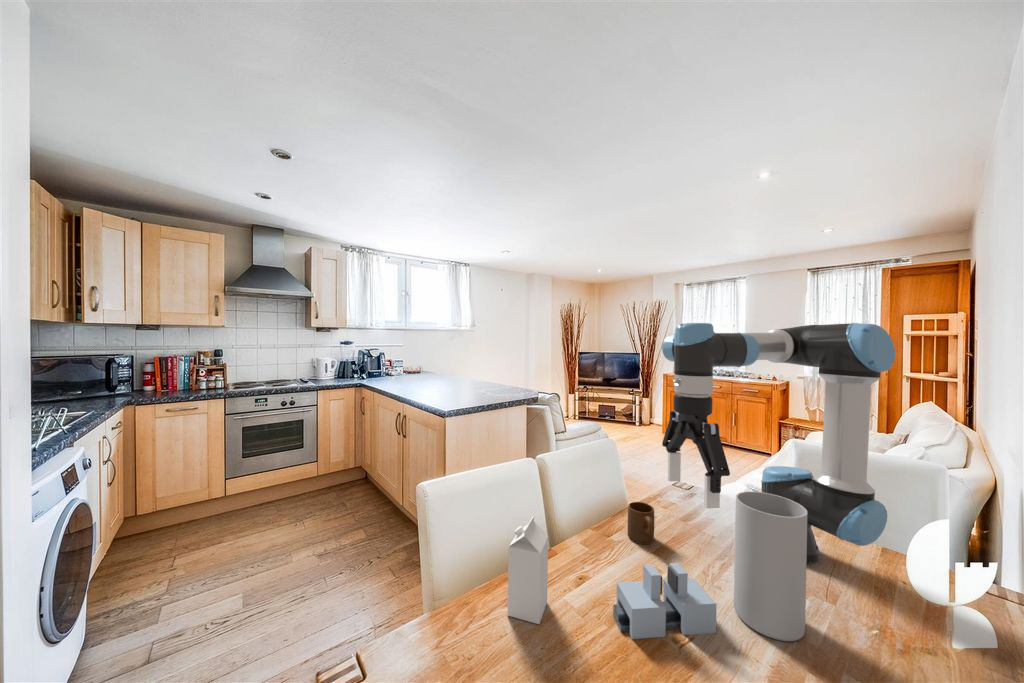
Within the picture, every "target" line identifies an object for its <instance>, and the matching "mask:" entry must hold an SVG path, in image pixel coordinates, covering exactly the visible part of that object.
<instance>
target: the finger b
mask: <svg viewBox="0 0 1024 683" xmlns="http://www.w3.org/2000/svg"><path fill="white" fill-rule="evenodd" d="M688 574H689V573H688V572H687V571H686V570H685V569H684V568H683V567H682V566H681V564H680V563H679V562H669V565H668V566H667V579H666V578H665V579H663V600H662V602H668V601H671V603H672V604H673V605H674V607H675V608H676V609H677V611H678V612H679V613H680V615H681V628H680V632H681V633H682V635H684V636H687V635H689V636H690V635H699V634H700V635H703V634H715V633H716V634H717V604H718V603H717V602H716V601H715V600H714V599H713V598H712V597H711V596H710V595H709V593H708V592H707V591H706V590H705V589H704V588H703V587H702V586H701V585H700V584H699V582H698V581H697V580H696V579H695V578H694V577H689V576H688ZM688 577H689V578H688Z"/></svg>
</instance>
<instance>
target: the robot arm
mask: <svg viewBox="0 0 1024 683" xmlns="http://www.w3.org/2000/svg"><path fill="white" fill-rule="evenodd" d="M714 330H715V329H714V325H713V324H712V323H709V322H686V323H685V322H684V323H683V322H681V323H678V324H677V325H676V327H675V328H674V334H669V335H667V336H666V337H665V338H664V340H663V341H662V343H661V344H662V346H661V347H662V348H661V350H662V355H663V356H664V358H665V359H666V360H668V361H669V362H673V364H674V367H673V373H674V378H673V380H672V381H673V391H674V392H675V394H674V395H673V410H671V411H670V413H669V420H668V423H667V427H666V430H665V434H664V436H663V440H662V444H661V446H662V447H663V448H664V447H665V449H666V452H667V481H668V482H681V475H682V474H681V472H682V471H681V466H682V464H681V463H682V462H681V461H682V460H681V459H682V455H681V454H682V453H681V447H682V446H683V444H684V442H685V441H686V440H687V438H689V439H690V440H692V441H691V442H692V443H693V444H695V445H696V447H697V450H698V452H699V455H700V457H701V460H702V462H703V464H704V467H705V469H706V472H705V473H704V494H703V496H704V505H703V507H704V508H706V509H720V507H721V506H720V503H721V502H720V499H721V497H720V496H721V495H720V494H721V490H722V477H730V475H731V472H730V468H729V465H728V461H727V458H726V454H725V451H724V447H723V444H722V440H721V437H720V427H719V425H720V424H718V423H715V422H714V423H709V422H708V416H710V415H712V413H713V401H714V400H713V397H712V396H711V395H712V394H714V376H713V375H714V368H715V367H716V368H717V367H721V368H722V367H725V368H726V367H727V368H729V367H735V368H736V367H737V368H740V367H748V366H751V365H753V364H755V363H756V361H767V362H768V361H769V362H770V363H775V364H778V363H779V364H780V363H782V364H784V363H785V364H790V365H791V364H792V365H798V366H805V367H813V368H818V376H819V377H821V378H822V379H823V380H824V382H825V383H824V384H825V386H824V389H825V390H824V407H823V408H824V409H823V424H822V425H823V428H822V446H821V464H820V465H821V466H820V467H821V468H820V470H821V471H820V472H819V473H817V474H816V475H813V473H812V471H810V470H808V469H804V468H800V467H793V466H784V465H775V466H774V465H772V466H767V467H765V468H764V469H763V470H762V476H761V480H760V481H761V492H763V493H769V494H773V495H777V496H781V497H784V498H787V499H790V500H792V501H794V502H796V503H798V504H800V505H802V506H803V507H804V508H805V509H806V510H807V559H806V564H814V563H816V562H818V561H819V559H820V549H819V546H818V544H817V542H816V538H815V533H814V532H813V529H812V526H813V527H814V528H817V529H819V530H820V531H823V532H825V533H828V534H830V535H832V536H834V537H837V538H838V539H839V540H841V541H846V542H848V543H851V544H853V545H855V546H861V547H862V546H863V547H864V546H865V547H866V546H868V545H872V544H873V543H875V542H876V541H877V540H878V539H879V538H880V537H881V535H882V534H883V532H884V530H885V528H886V525H887V522H888V510H887V509H886V506H885V505H884V504H883V503H881V502H880V501H879V500H876V499H875V498H876V497H875V495H876V493H875V492H876V490H875V488H873V486H871V484H869V483H868V482H867V481H868V461H869V456H868V455H869V437H870V420H871V419H870V417H871V416H870V415H871V399H872V398H871V397H872V395H871V394H872V386H873V385H874V383H876V382H878V381H880V380H881V373H883V372H887V371H889V370H890V369H891V368H892V367H893V364H894V362H895V359H896V349H895V344H894V341H893V339H892V337H891V336H890V334H889V332H888V331H887V330H886V329H885V328H884V327H882V326H880V325H877V324H874V323H861V322H860V323H858V322H852V323H833V324H831V323H830V324H807V325H801V326H794V327H787V328H774V329H769V330H767V331H766V332H715V331H714Z"/></svg>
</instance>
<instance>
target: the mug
mask: <svg viewBox="0 0 1024 683" xmlns="http://www.w3.org/2000/svg"><path fill="white" fill-rule="evenodd" d="M627 536H628V538H629V540H631V541H633V542H634V543H637V544H640V545H649V544H652V543H653V542H654V539H655V508H654V507H653V506H652V505H650V504H648V503H646V502H640V501H633V502H629V504H628V506H627Z"/></svg>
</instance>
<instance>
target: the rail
mask: <svg viewBox="0 0 1024 683" xmlns="http://www.w3.org/2000/svg"><path fill="white" fill-rule="evenodd" d="M662 602H663V601H662ZM663 604H664V605H665V607H666V625H665V630H673V629H674V630H675V629H677V630H678V629H681V615H680V613H679V612H678V611H677V609H676V608H675V607H674V605H673V604H672V603H671V601H668V602H663ZM612 611H613V613H612V616H613V619H614V622H615V623H616V625H617V627H618V629H619V631H620V633H630V618H629V617H628V615H627V613H626V611H625V609H624V608H623V606H622V604H613V607H612Z"/></svg>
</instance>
